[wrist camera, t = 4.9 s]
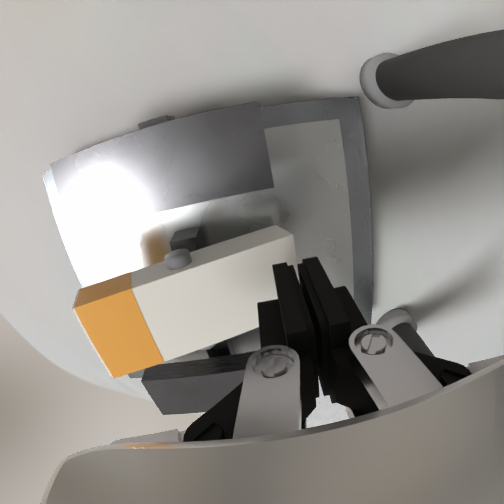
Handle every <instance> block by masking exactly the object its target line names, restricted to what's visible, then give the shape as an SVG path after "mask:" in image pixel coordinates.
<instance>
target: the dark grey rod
mask: <svg viewBox="0 0 504 504" xmlns="http://www.w3.org/2000/svg"><path fill="white" fill-rule="evenodd" d="M377 324H378V325H384V326H386V327H389V328H391V329H392V330H393V331H395V332H396V333H397V335H398V336H399V337H400V338H401V339H402V340H403V341H404V342H405V343H406V345H407V346H408V347H409V348H410V349H411V350H412V351H415V352H419V353H422V354H426V355H429V356H433V357H435V356H434V355H433V354H432V352H431V351H430V350H429V348H428V347H427V346H426V344H425V343H424V341H423V340H422V339H421V337H420V336H419V335H418V334H417V332H416V330H417V325H416V322H415V321H414V319H413V318H412V317H411V316H410V315H409V313H408V312H407V311H406V310H404V309H395V310H392V311H389V312H388V313H386V314H385V315H383V316H382V317H381V318H380V319H379V321H378V322H377Z"/></svg>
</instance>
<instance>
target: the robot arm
mask: <svg viewBox="0 0 504 504" xmlns="http://www.w3.org/2000/svg"><path fill="white" fill-rule="evenodd" d="M297 267H298V275H299V281H298V278H297V275H296V272H295V269H294V266H293V265H289V266H288V265H287V262H284V263H279V264H273V265H272V268H273V274H274V280H275V285H276V291H277V297H278V299H275V300H269V301H264V302H258V303H257V308H258V320H259V332H260V345H261V349H259V350H257V351H256V352H254V353H253V354H252V355H251V356H250V357H249V359H248V361H247V364H246V369H245V375H244V380H243V382H242V383H240V384H239V385H238V386H237V387H236V388H235V389H233V390H232V391H231V392H230V393H229V394H228V395H226V396H225V397H224V398H223V399H222V400H220V401H219V402H218V403H217V404H216V405H214V406H213V407H212V408H211V409H209V410H208V411H207V412H206V413H205V414H203V415H202V416H201V417H200V418H198V419H197V420H196V421H195V422H193V423H192V424H191V425H190V426H189V427H188V428H187V430H186V431H182V432H179V431H178V430H177V429H175V430H170V431H165V432H160V433H155V434H149V435H143V436H137V437H131V438H125V439H120V440H117V441H114V442H113V443H111V444H110V445H104V446H98V447H94V448H91V449H86V450H83V451H80V452H77V453H75V454H73V455H70V456H68V457H67V458H66V459H64V460H63V461H62V462H61V463H60V464H59V465H58V467H57V468H56V470H55V471H54V473H53V475H52V477H51V479H50V481H49V483H48V485H47V488H46V490H45V492H44V495H43V498H42V500H41V504H504V355H502V356H499V357H495V358H491V359H487V360H482V361H478V362H473V363H469V365H468V367H465V366H463V365H461V364H458V363H455V362H451V361H448V360H444V359H440V358H437V357H433V356H429V355H426V354H422V353H419V352H415V351H412V350H411V349H410V348H409V347H408V346H407V345H406V343H405V342H404V341H403V340H402V339H401V338H400V337H399V336H398V335H397V333H396V332H395V331H393V330H392V329H391V328H389V327H386V326H384V325H378V324H371V325H368V324H367V322H366V321H365V319H364V317H363V315H362V313H361V312H360V310H359V308H358V306H357V305H356V303H355V301H354V299H353V298H352V296H351V294H350V293H349V291H348V289H347V288H346V286H341V287H336V288H334V287H333V285H332V284H331V282H330V280H329V278H328V276H327V274H326V272H325V270H324V268H323V266H322V265H321V263H320V261H319V259H318V257H317V256H316V257H311V258H306V259H302V263H300V264H297ZM299 283H300V284H299ZM318 376H319V380H320V384H321V387H322V391H323V395H324V396H326V395H330V398H331V402H332V403H336V402H337V403H339V404H341V405H344V406H346V411H347V414H348V416H349V418H350V419H347V420H343V421H339V422H335V423H330V424H326V425H321V426H317V427H312V428H307V419H306V418H307V417H308V416H309V415H310V413H311V412H312V411H313V410H314V409H315V408H316V398H317V397H319V382H318Z"/></svg>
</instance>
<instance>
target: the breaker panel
mask: <svg viewBox="0 0 504 504" xmlns="http://www.w3.org/2000/svg"><path fill="white" fill-rule="evenodd" d="M138 125H139V129H140V130H137V131H134V132H131V133H128V134H125V135H122V136H119V137H116V138H113V139H111V140H108V141H105V142H102V143H100V144H97V145H94V146H92V147H89V148H87V149H84V150H82V151H79V152H77V153H74V154H72V155H69V156H67V157H65V158H62V159H60V160H58V161H56V162H53V163H51V164H50V166H51V169H50V170H48V171H45V172H43V173H42V175H43V179H44V183H45V186H46V190H47V193H48V197H49V200H50V203H51V207H52V210H53V213H54V216H55V219H56V222H57V225H58V228H59V231H60V234H61V236H62V239H63V242H64V245H65V247H66V250H67V252H68V255H69V258H70V260H71V263H72V265H73V267H74V270H75V272H76V275H77V277H78V279H79V282H80V284H81V286H82V288H85V287H87V286H90V285H93V284H96V283H99V282H102V281H105V280H107V279H110V278H113V277H116V276H119V275H122V274H125V273H128V272H133V271H136V270H139V269H142V268H145V267H147V266H150V265H153V264H156V263H159V262H162V261H165V260H164V257H165V255H166V254H168V253H169V252H171V251H174V250H177V249H188V250H189V252H193V251H196V250H199V249H202V248H205V247H208V246H211V245H214V244H217V243H220V242H223V241H226V240H229V239H232V238H236V237H239V236H242V235H245V234H248V233H251V232H254V231H258V230H261V229H264V228H267V227H270V226H273V225H277V226H279V227H280V228H282V229H284V230H286V231H288V232H290V233H291V234H293V237H294V244H295V251H296V259H297V264H300V263H302V259H306V258H311V257H316V256H317V257H318V259H319V261H320V263H321V265H322V266H323V268H324V270H325V272H326V274H327V276H328V278H329V280H330V282H331V284H332V285H333V287H334V288H336V287H341V286H346V288H347V289H348V291H349V293H350V294H351V296H352V298H353V299H354V301H355V303H356V305H357V306H358V308H359V310H360V312H361V313H362V315H363V317H364V319H365V321H366V322H367V324H368V325H371V315H372V286H373V246H372V216H371V199H370V185H369V173H368V163H367V153H366V145H365V137H364V129H363V122H362V115H361V109H360V103H359V97H347V98H332V99H320V100H310V101H301V102H293V103H285V104H278V105H271V106H264V107H259V102H253V103H247V104H242V105H236V106H231V107H226V108H221V109H216V110H212V111H207V112H203V113H199V114H194V115H190V116H186V117H182V118H179V119H175V120H174V117H172V116H167V115H166V116H163V117H159V118H156V119H152V120H149V121H146V122H143V123H139V124H138ZM259 349H261V345H260V332H259V327H257V328H255V329H252V330H250V331H247V332H245V333H242V334H240V335H237V336H234V337H232V338H229V339H227V340H224V341H221V342H219V343H216V345H215V346H214V347H212V348H210V349H207V350H200V349H199V350H197V351H194V352H191V353H188V354H185V355H182V356H180V357H177V358H174V359H171V360H168V361H165V362H164V363H161V364H158V365H155V366H152V367H149V368H145V369H142V370H139V371H136V372H133V373H129V374H128V375H129V377H130V378H142V380H141V382H142V383H143V385H144V386H145V388H146V390H147V391H148V393H149V394H150V396H151V398H152V399H153V401H154V402H155V404H156V405H157V407H158V408H159V409H160V411H161V413H162V414H163V415H167V414H185V413H198V412H207V411H208V410H209V409H211V408H212V407H213V406H214V405H216V404H217V403H218V402H219V401H220V400H222V399H223V398H224V397H225V396H226V395H228V394H229V393H230V392H231V391H232V390H233V389H235V388H236V387H237V386H238V385H239V384H240V383H242V382H243V380H244V375H245V369H246V364H247V361H248V359H249V357H250V356H251V355H252V354H253V353H254V352H256V351H257V350H259Z"/></svg>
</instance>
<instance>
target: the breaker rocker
mask: <svg viewBox="0 0 504 504" xmlns="http://www.w3.org/2000/svg"><path fill="white" fill-rule="evenodd" d="M164 260H165V261H162V262H159V263H156V264H153V265H150V266H147V267H145V268H142V269H139V270H136V271H133V272H128V273H125V274H122V275H119V276H116V277H113V278H110V279H107V280H105V281H102V282H99V283H96V284H93V285H90V286H87V287H85V288H82V289H80V290H78V292H77V295H76V298H75V301H74V305H73V308H72V310H73V312H74V314H75V316H76V318H77V320H78V321H79V323H80V325H81V327H82V329H83V331H84V333H85V334H86V336H87V338H88V340H89V341H90V343H91V345H92V347H93V348H94V350H95V352H96V353H97V355H98V357H99V358H100V360H101V362H102V363H103V365H104V367H105V368H106V370H107V371H108V373H109V374H110V376H111V377H112V378H116V377H119V376H123V375H126V374H129V373H133V372H136V371H139V370H142V369H145V368H149V367H152V366H155V365H158V364H161V363H164V362H165V361H168V360H171V359H174V358H177V357H180V356H182V355H185V354H188V353H191V352H194V351H197V350H199V349H200V350H207V349H210V348H212V347H214V346H215V345H216V343H219V342H221V341H224V340H227V339H229V338H232V337H234V336H237V335H240V334H242V333H245V332H247V331H250V330H252V329H255V328H257V327H259V320H258V308H257V303H258V302H264V301H269V300H275V299H278V297H277V291H276V285H275V280H274V274H273V268H272V265H273V264H279V263H284V262H287V265H288V266H289V265H293V266H294V269H295V272H296V275H297V278H298V281H299V275H298V267H297V259H296V251H295V244H294V237H293V234H291V233H290V232H288V231H286V230H284V229H282V228H280V227H279V226H277V225H273V226H270V227H267V228H264V229H261V230H258V231H254V232H251V233H248V234H245V235H242V236H239V237H236V238H232V239H229V240H226V241H223V242H220V243H217V244H214V245H211V246H208V247H205V248H202V249H199V250H196V251H193V252H189V250H188V249H177V250H174V251H171V252H169V253H168V254H166V255H165V257H164ZM299 284H300V283H299Z"/></svg>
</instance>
